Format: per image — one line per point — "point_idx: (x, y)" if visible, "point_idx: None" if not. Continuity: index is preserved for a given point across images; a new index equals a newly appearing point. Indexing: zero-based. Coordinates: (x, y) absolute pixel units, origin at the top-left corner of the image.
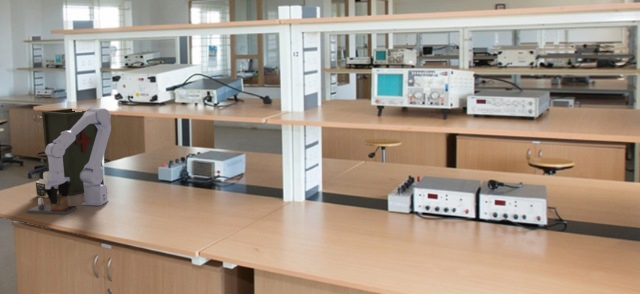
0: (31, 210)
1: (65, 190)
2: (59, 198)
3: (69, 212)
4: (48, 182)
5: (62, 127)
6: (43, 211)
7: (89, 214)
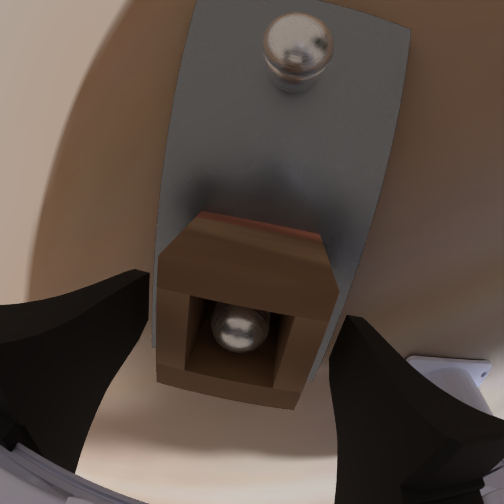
0: (190, 25)
1: (348, 439)
2: (183, 367)
3: None
4: (73, 496)
5: None
6: (167, 152)
7: (184, 434)
